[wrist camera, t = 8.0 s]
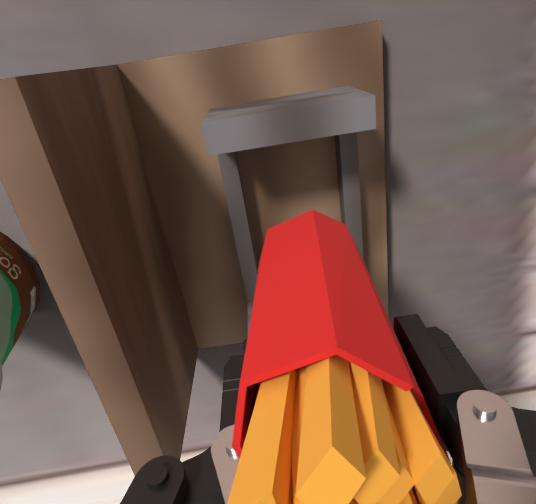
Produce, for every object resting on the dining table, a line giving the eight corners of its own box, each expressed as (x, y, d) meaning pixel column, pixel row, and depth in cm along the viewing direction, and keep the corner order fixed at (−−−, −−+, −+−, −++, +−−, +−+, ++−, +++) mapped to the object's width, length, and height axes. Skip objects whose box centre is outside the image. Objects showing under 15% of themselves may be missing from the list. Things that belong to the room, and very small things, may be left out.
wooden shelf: (170, 341, 33) (130, 492, 22) (83, 70, 24) (-61, 89, 13) (382, 309, 32) (454, 447, 21) (374, 21, 24) (489, -3, 12)
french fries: (398, 339, 19) (586, 778, 8) (314, 368, 20) (370, 803, 9) (324, 165, 16) (469, 501, 4) (225, 210, 17) (114, 594, 5)
